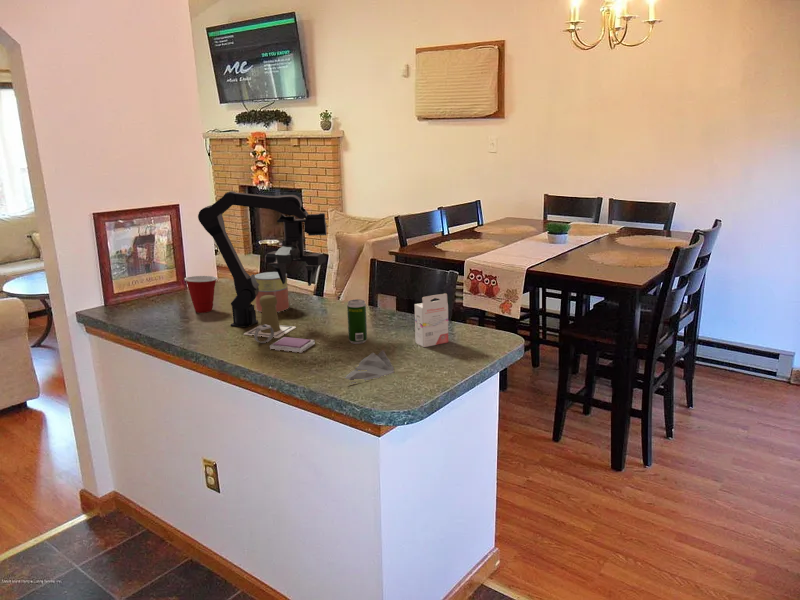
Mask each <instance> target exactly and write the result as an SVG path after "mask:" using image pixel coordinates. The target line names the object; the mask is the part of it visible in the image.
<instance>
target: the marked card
mask: <svg viewBox="0 0 800 600" xmlns="http://www.w3.org/2000/svg"><path fill="white" fill-rule="evenodd" d="M279 325H280V331H278V332H274V336H273V337H274V338H273V339H280V338H282V337H284V334H285V335H286V334H288V333H290V332H291V331H293V330H295V329H297V326H293V325H282V324H279ZM258 326H261V324H259V325H258ZM256 329H257V328H256V327H253V328H252V329H250V330H248V331H246V332H244V333H243V335H244V336H252V335H254V334H255V331H256ZM270 334H271V333H263V332H261V330H260V331H259V332H258V336H257V337H261V336H262V337H263V338H269V337H270Z"/></svg>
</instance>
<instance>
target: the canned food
mask: <svg viewBox="0 0 800 600" xmlns="http://www.w3.org/2000/svg"><path fill="white" fill-rule="evenodd" d="M254 276H255V279H256V281H257V283H258V284H259V286H258V288H259V292H258V295H257V296H256V298H255V304H256V305H255V307H256V309H255V311H256V312H258V311H259V312H258V313H261V312H262V306H261V305H260V298H261V297H262V296H265V295H273V296H275V297H276V299H277V304H276V311H277V312H278V313H280V312H279V311H283V312H285V311H284V310H286V309H288V308H289V309H290V304H289V289H288V273H286V282H285V284H283V283H282V281H281V279H280V277H279V274H278V272H277V271H265V272H260V273H257V274H254ZM289 309H288V310H289ZM286 311H287V310H286Z"/></svg>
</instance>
